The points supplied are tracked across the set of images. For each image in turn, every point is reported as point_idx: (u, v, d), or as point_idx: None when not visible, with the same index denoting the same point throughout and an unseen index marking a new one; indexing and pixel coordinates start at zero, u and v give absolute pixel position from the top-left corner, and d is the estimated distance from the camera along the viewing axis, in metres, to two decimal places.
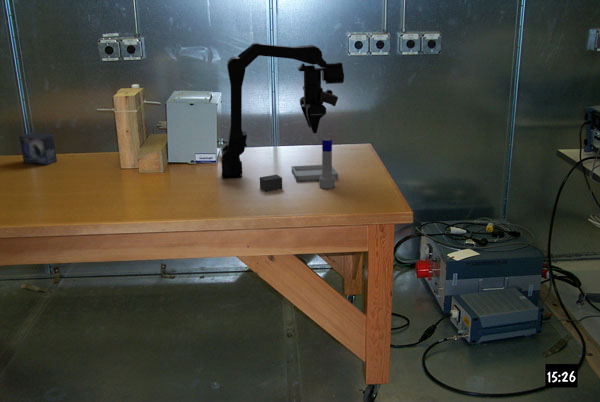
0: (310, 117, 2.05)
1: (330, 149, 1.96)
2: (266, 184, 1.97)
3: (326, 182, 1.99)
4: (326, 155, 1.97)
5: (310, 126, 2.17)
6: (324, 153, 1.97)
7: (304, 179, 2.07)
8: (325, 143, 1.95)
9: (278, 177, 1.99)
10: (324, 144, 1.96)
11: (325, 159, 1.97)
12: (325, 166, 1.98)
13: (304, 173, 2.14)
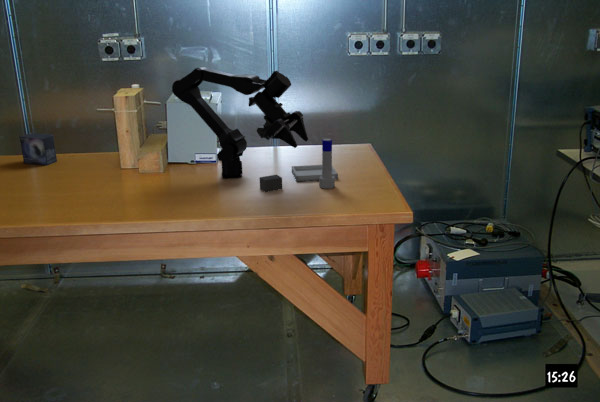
0: None
1: (330, 149, 1.96)
2: (266, 184, 1.97)
3: (326, 182, 1.99)
4: (326, 155, 1.97)
5: None
6: (324, 153, 1.97)
7: (304, 179, 2.07)
8: (325, 143, 1.95)
9: (278, 177, 1.99)
10: (324, 144, 1.96)
11: (325, 159, 1.97)
12: (325, 166, 1.98)
13: (304, 173, 2.14)
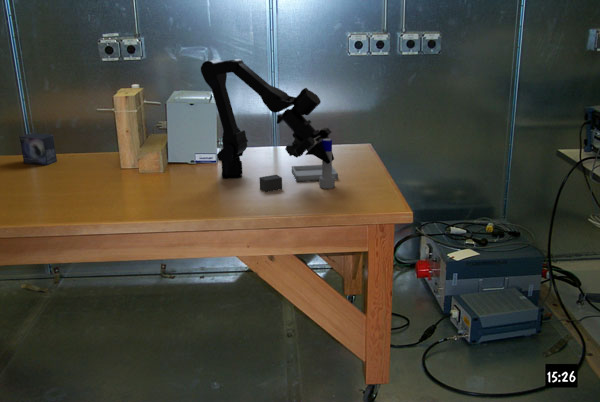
0: None
1: (330, 149, 1.96)
2: (266, 184, 1.97)
3: (326, 182, 1.99)
4: None
5: None
6: None
7: (304, 179, 2.07)
8: (325, 143, 1.95)
9: (278, 177, 1.99)
10: (324, 144, 1.96)
11: None
12: (325, 166, 1.98)
13: (304, 173, 2.14)
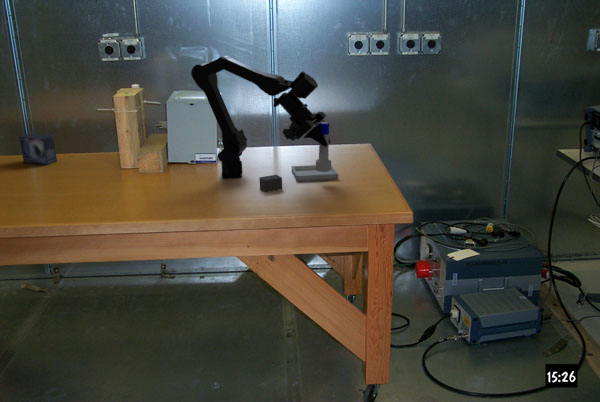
0: None
1: (327, 132, 1.99)
2: (266, 184, 1.97)
3: (323, 165, 2.00)
4: None
5: None
6: None
7: (304, 179, 2.07)
8: (322, 126, 1.98)
9: (278, 177, 1.99)
10: (322, 127, 1.98)
11: None
12: (322, 149, 2.00)
13: (304, 173, 2.14)
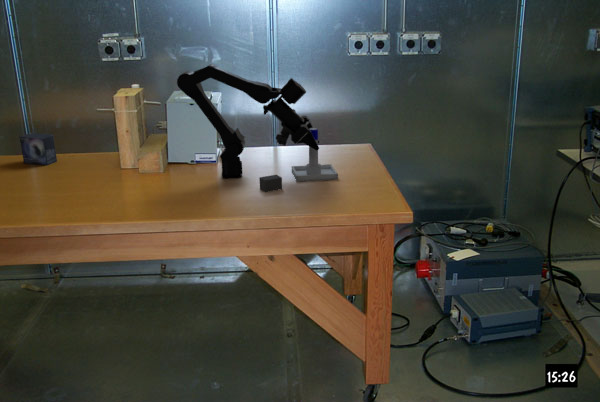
0: None
1: (317, 137, 2.08)
2: (266, 184, 1.97)
3: (315, 169, 2.10)
4: None
5: (317, 148, 2.06)
6: None
7: (304, 179, 2.07)
8: (312, 132, 2.07)
9: (278, 177, 1.99)
10: (312, 133, 2.07)
11: None
12: (313, 154, 2.10)
13: (304, 173, 2.14)
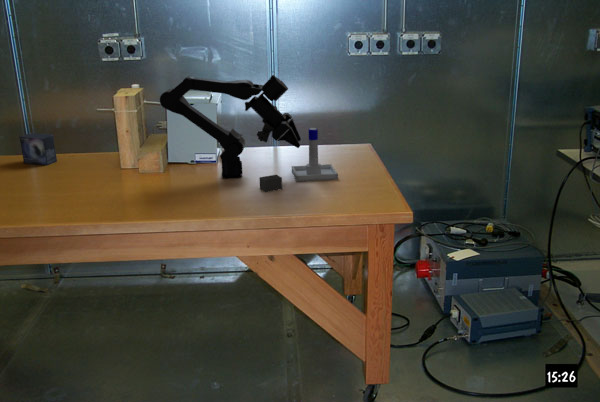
0: None
1: (317, 137, 2.08)
2: (266, 184, 1.97)
3: (315, 169, 2.10)
4: (313, 143, 2.08)
5: None
6: (312, 142, 2.08)
7: (304, 179, 2.07)
8: (312, 132, 2.07)
9: (278, 177, 1.99)
10: (312, 133, 2.07)
11: (313, 147, 2.09)
12: (313, 154, 2.10)
13: (304, 173, 2.14)
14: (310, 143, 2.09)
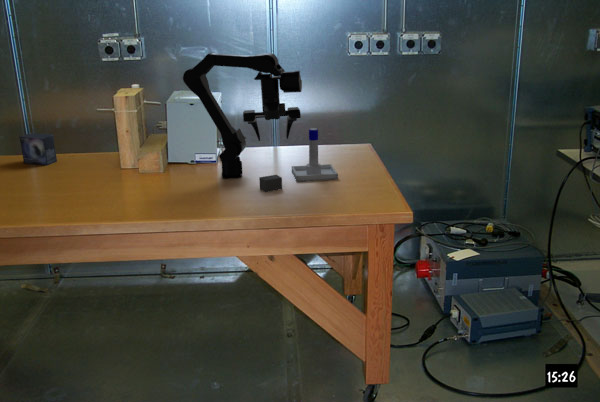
0: None
1: (317, 138, 2.08)
2: (266, 184, 1.97)
3: (315, 169, 2.10)
4: (313, 143, 2.08)
5: (286, 137, 2.09)
6: (312, 142, 2.08)
7: (304, 179, 2.07)
8: (313, 133, 2.07)
9: (278, 177, 1.99)
10: (312, 133, 2.07)
11: (313, 147, 2.09)
12: (313, 154, 2.09)
13: (304, 173, 2.14)
14: (310, 143, 2.09)
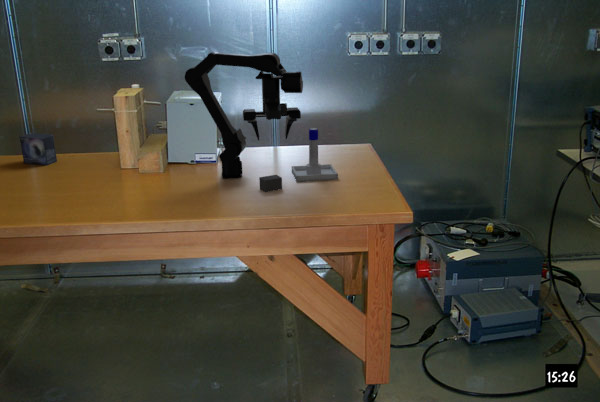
0: None
1: (317, 138, 2.08)
2: (266, 184, 1.97)
3: (315, 169, 2.10)
4: (313, 143, 2.08)
5: (285, 137, 2.09)
6: (312, 142, 2.08)
7: (304, 179, 2.07)
8: (313, 132, 2.07)
9: (278, 177, 1.99)
10: (312, 133, 2.07)
11: (313, 147, 2.09)
12: (313, 154, 2.10)
13: (304, 173, 2.14)
14: (310, 143, 2.09)
